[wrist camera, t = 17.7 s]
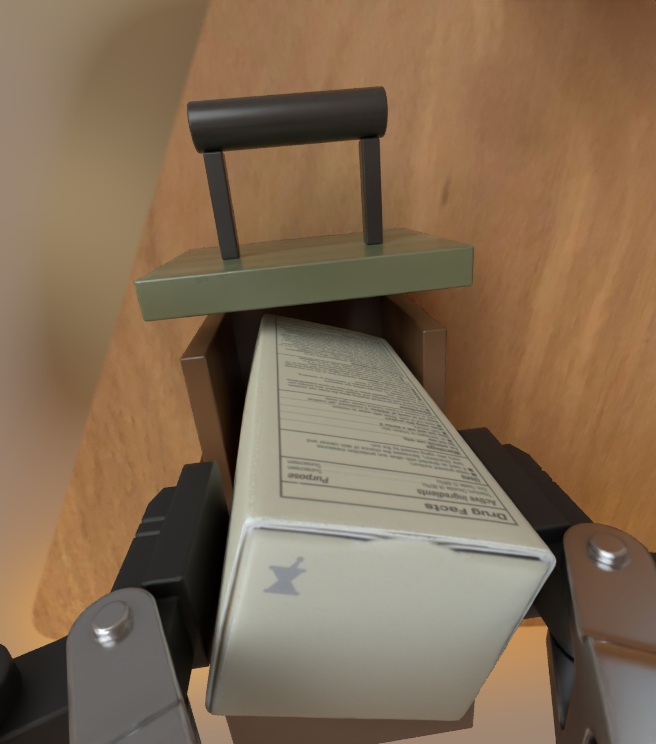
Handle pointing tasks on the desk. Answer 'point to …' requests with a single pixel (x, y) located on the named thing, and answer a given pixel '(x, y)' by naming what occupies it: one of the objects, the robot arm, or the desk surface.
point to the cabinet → (335, 728)
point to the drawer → (297, 264)
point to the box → (361, 542)
